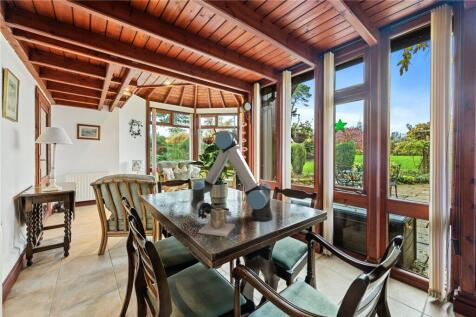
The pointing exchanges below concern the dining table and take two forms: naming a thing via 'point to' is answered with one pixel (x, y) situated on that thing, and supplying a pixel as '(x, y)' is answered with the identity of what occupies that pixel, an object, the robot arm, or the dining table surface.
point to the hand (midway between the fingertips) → (220, 216)
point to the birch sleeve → (217, 218)
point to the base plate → (219, 232)
